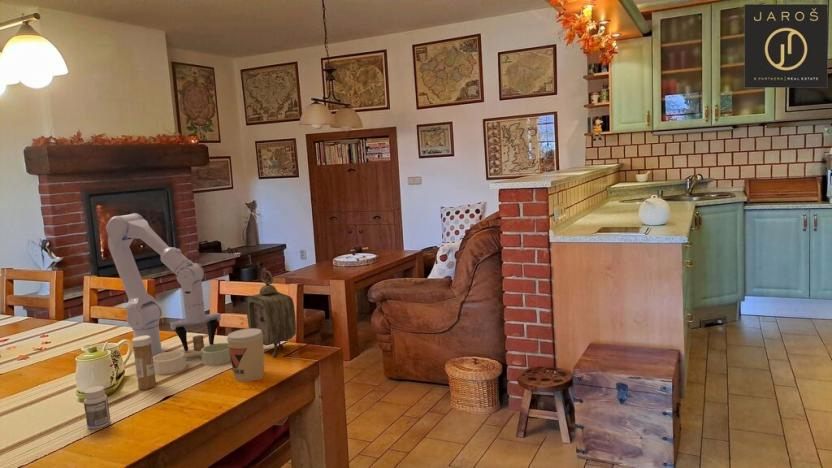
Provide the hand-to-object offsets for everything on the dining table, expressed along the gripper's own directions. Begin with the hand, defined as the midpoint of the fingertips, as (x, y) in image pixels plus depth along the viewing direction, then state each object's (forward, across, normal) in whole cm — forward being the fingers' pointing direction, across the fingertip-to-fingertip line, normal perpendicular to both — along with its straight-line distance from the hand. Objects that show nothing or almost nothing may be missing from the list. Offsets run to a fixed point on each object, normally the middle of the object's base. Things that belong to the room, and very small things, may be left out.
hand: (198, 347), depth 184 cm
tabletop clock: (+2, +18, -16) cm, 24 cm away
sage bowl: (+2, +2, -12) cm, 12 cm away
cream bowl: (+2, -11, -9) cm, 14 cm away
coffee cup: (+2, +4, -32) cm, 32 cm away
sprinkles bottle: (+2, -19, -19) cm, 27 cm away
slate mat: (+2, 0, 0) cm, 2 cm away
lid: (+2, 0, 0) cm, 2 cm away
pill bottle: (+2, -33, -37) cm, 50 cm away
